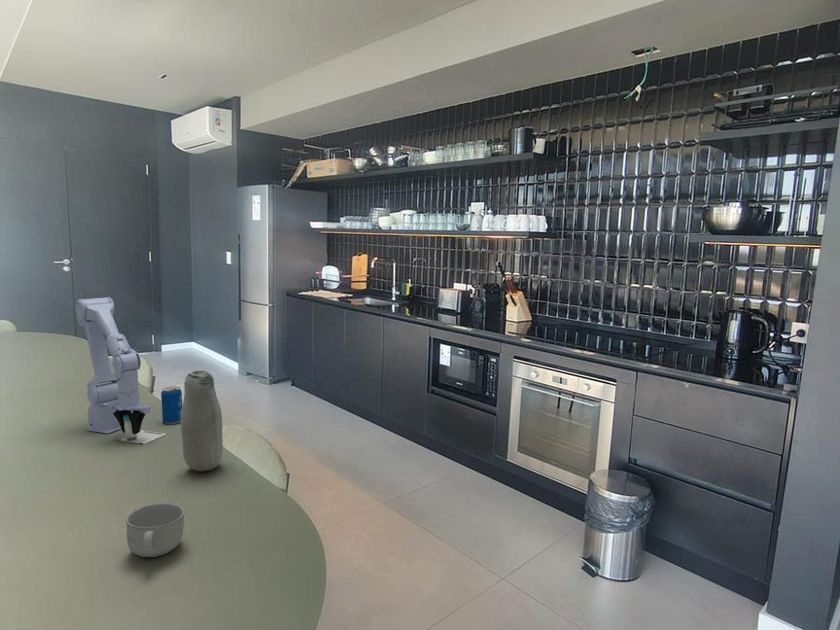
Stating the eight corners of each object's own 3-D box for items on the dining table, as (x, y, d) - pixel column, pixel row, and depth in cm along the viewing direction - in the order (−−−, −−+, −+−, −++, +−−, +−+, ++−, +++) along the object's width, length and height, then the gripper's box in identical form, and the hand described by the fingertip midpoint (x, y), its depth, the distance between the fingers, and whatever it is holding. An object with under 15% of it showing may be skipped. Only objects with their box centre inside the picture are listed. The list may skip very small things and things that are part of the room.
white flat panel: (120, 440, 171) (120, 439, 171) (142, 431, 179) (142, 429, 179) (145, 444, 168) (145, 443, 168) (167, 434, 176) (167, 433, 176)
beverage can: (175, 425, 185) (173, 391, 183) (158, 424, 186) (156, 390, 184) (187, 419, 191) (185, 386, 189) (170, 418, 192) (168, 385, 191)
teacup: (141, 536, 117) (139, 501, 116) (193, 534, 118) (191, 500, 117) (110, 576, 103) (107, 537, 102) (169, 573, 104) (167, 535, 103)
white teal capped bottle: (122, 440, 170) (120, 416, 169) (131, 436, 174) (129, 412, 172) (131, 441, 169) (129, 417, 168) (141, 437, 173) (139, 413, 171)
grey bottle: (230, 464, 154) (226, 368, 150) (205, 479, 145) (200, 377, 141) (202, 459, 157) (197, 365, 153) (176, 473, 148) (170, 374, 144)
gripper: (99, 392, 167) (102, 434, 169) (136, 396, 163) (139, 439, 165) (118, 386, 174) (121, 426, 176) (154, 390, 170) (157, 431, 172)
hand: (131, 432), depth 171 cm, fingers closed on white teal capped bottle, 3 cm apart
